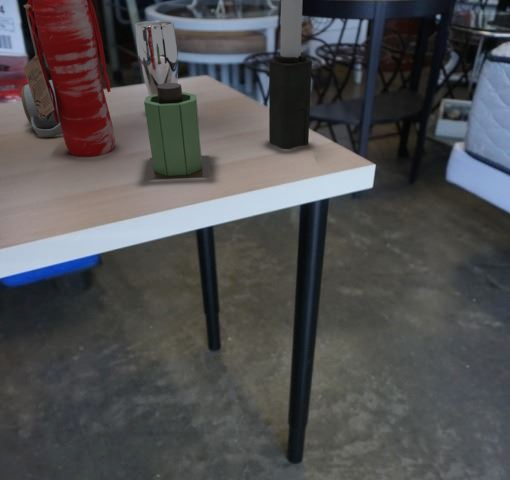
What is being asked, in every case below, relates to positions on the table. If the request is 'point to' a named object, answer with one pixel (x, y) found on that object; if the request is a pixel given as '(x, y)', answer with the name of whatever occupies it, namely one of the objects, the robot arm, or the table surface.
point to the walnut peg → (170, 95)
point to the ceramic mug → (34, 118)
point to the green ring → (174, 135)
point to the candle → (290, 83)
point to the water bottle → (70, 73)
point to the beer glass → (157, 53)
